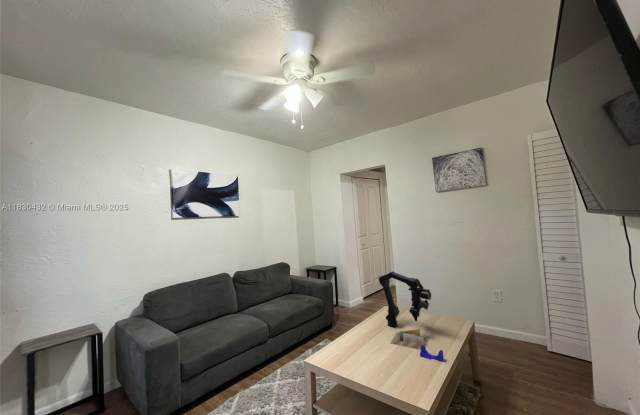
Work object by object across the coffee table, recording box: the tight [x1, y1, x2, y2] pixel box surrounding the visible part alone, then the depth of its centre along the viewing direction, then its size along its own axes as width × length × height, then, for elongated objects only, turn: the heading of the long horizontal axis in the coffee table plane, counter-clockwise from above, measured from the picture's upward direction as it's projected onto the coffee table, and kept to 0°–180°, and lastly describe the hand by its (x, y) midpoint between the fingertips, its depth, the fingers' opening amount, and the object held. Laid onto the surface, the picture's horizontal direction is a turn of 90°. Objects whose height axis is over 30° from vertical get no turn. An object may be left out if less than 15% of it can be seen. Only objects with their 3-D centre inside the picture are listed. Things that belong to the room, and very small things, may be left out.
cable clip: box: [419, 345, 445, 363], centre depth 151 cm, size 12×4×6 cm, turn 47°
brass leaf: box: [401, 328, 421, 336], centre depth 176 cm, size 13×1×5 cm, turn 98°
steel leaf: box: [398, 330, 424, 345], centre depth 170 cm, size 15×2×6 cm, turn 58°
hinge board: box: [389, 331, 430, 351], centre depth 173 cm, size 22×18×1 cm
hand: (417, 318), depth 183 cm, fingers open, 8 cm apart
